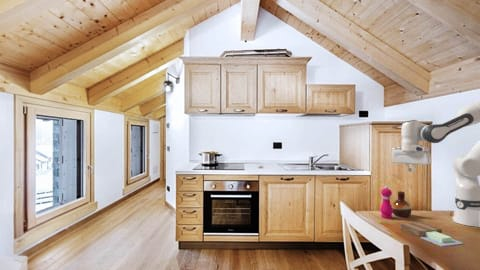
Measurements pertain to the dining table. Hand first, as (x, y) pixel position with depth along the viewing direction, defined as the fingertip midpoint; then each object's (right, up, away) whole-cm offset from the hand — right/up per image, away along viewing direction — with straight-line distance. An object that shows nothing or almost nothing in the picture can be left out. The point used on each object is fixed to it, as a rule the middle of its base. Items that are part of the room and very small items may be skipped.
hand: (410, 171), depth 159 cm
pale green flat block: (-1, -31, -24) cm, 39 cm away
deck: (-3, -31, -13) cm, 34 cm away
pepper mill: (-7, -32, +14) cm, 35 cm away
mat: (-1, -31, -25) cm, 40 cm away
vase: (+5, -31, +17) cm, 36 cm away
